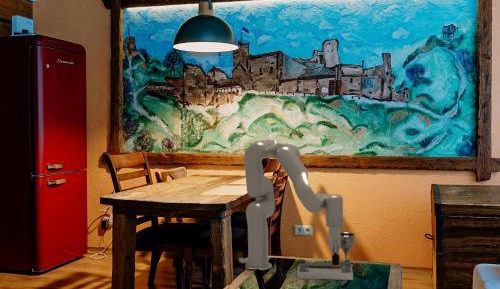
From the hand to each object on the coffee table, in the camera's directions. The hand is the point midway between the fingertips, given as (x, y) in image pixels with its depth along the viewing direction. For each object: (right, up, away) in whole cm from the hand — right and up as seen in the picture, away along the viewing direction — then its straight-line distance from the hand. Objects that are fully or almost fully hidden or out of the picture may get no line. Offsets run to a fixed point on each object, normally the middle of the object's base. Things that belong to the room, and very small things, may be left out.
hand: (335, 263), depth 243 cm
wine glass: (+8, -5, +18) cm, 20 cm away
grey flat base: (-5, -6, +1) cm, 7 cm away
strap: (-6, -1, +1) cm, 6 cm away
